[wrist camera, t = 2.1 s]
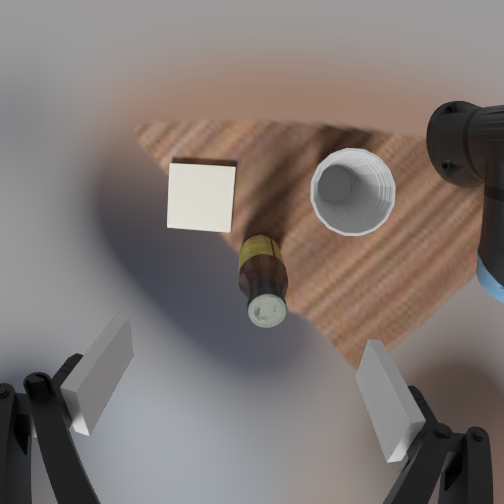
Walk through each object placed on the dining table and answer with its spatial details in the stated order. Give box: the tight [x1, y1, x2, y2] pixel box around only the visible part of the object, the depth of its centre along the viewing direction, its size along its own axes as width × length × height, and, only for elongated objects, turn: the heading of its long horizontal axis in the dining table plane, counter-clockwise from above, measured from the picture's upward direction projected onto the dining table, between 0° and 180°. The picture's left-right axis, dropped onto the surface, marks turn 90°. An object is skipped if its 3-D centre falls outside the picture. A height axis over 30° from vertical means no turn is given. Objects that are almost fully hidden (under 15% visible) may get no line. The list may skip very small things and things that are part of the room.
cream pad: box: [167, 163, 236, 233], centre depth 48 cm, size 10×10×1 cm
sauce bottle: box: [238, 234, 288, 327], centre depth 42 cm, size 6×6×20 cm
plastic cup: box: [311, 148, 395, 236], centre depth 42 cm, size 11×11×12 cm
